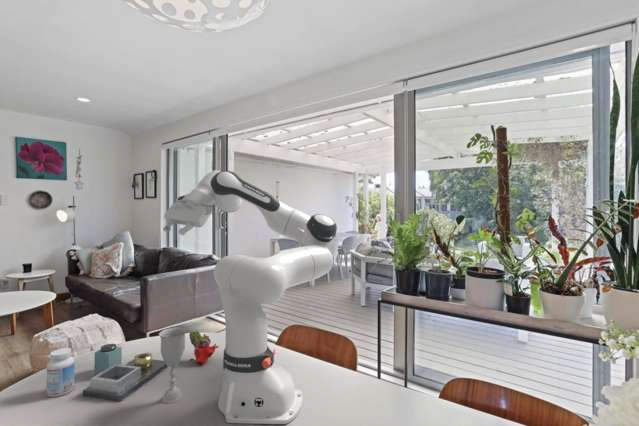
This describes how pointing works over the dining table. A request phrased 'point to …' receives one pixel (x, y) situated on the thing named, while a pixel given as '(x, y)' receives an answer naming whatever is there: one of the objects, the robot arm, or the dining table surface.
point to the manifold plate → (124, 378)
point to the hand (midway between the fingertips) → (172, 232)
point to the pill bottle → (60, 373)
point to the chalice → (172, 358)
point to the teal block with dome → (107, 357)
